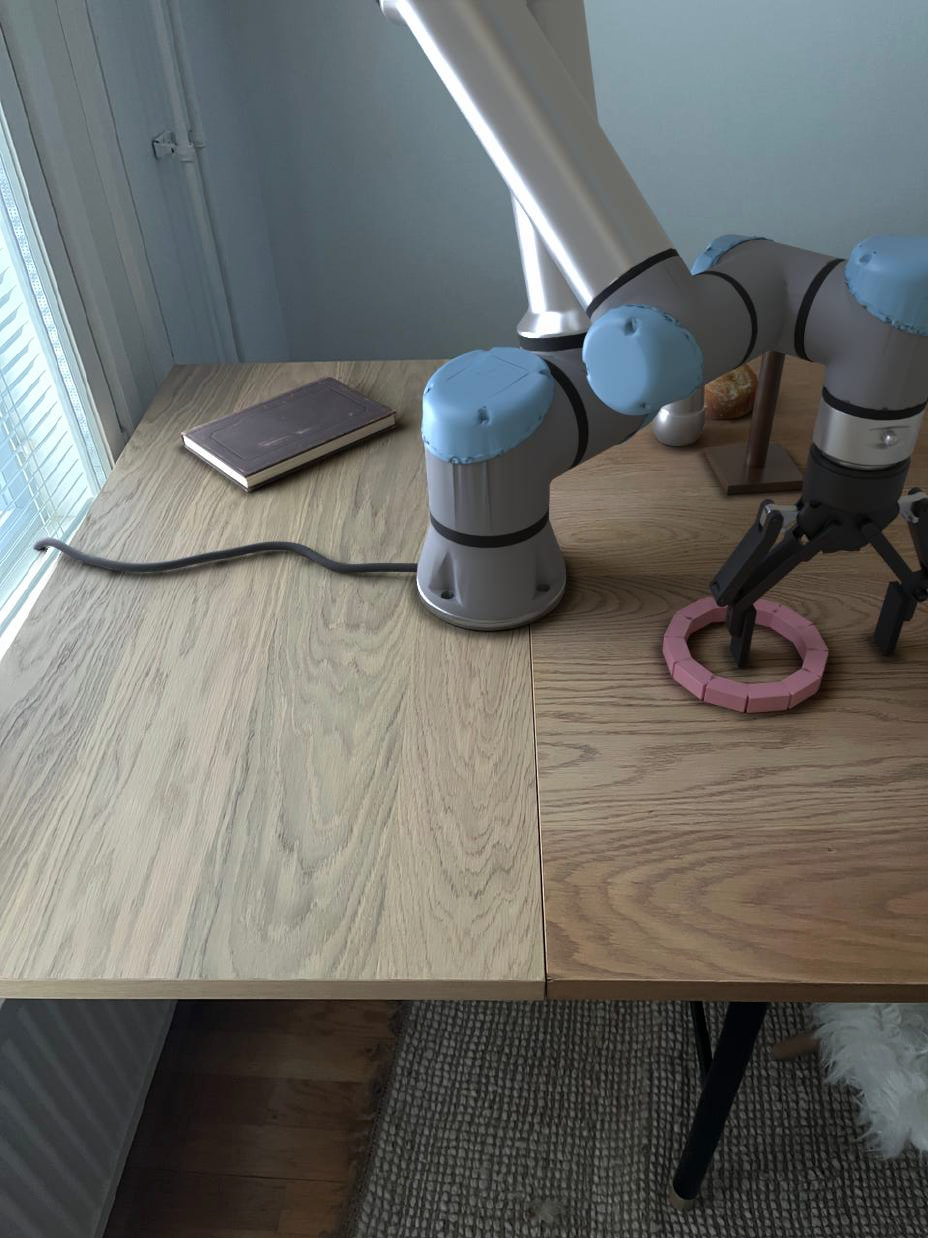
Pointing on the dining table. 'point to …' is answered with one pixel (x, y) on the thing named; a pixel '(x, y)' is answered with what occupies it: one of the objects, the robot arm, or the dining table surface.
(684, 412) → the silver bottle
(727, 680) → the ring
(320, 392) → the hardcover book
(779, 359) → the stand
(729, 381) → the bread roll
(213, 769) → the dining table surface
